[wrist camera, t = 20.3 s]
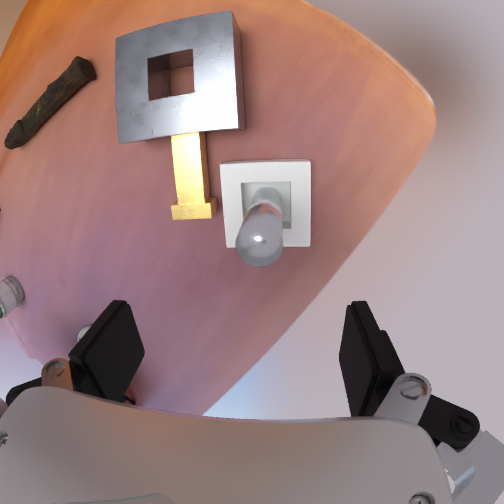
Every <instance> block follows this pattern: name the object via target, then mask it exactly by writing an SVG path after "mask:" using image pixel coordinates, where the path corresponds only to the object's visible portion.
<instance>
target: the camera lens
mask: <svg viewBox="0 0 504 504" xmlns="http://www.w3.org/2000/svg"><path fill="white" fill-rule="evenodd" d="M23 298H24V293H23V289H22V287H21V285H20V283H19V282H18V281H17V280H16V279H15V278H14V277H8V278H6V279H4V280H2V281H1V282H0V318H5V317H6V316H7V315H8V314H9V313H10V312H11V311H12V310H13V309H15V308H16V307H17V306H18V305H19V304H20V303H21V301H22V300H23Z"/></svg>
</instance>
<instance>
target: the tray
mask: <svg viewBox="0 0 504 504" xmlns="http://www.w3.org/2000/svg"><path fill="white" fill-rule="evenodd" d="M220 176H221V189H222V201H223V213H224V224H225V236H226V246H227V248H230V247H236V246H235V242H236V237H237V235H238V232H239V230H240V227H241V225H242V222H243V220H244V217H245V215H246V212H247V210H248V208H249V205H250V203H251V200H252V198H253V195H254V193H255V192H256V191H257V190H258V189H259V188H262V187H272V188H274V189H276V190H277V191H278V192H279V194H280V196H281V200H282V226H283V247H310V229H311V162H310V161H309V160H308V159H272V160H245V161H227V162H224V163H222V164H220Z"/></svg>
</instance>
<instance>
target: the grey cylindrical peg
mask: <svg viewBox="0 0 504 504" xmlns="http://www.w3.org/2000/svg"><path fill="white" fill-rule="evenodd" d="M235 246H236V251H237V253H238V255H239V257H240V258H241V259H242V260H243V261H244V262H246V263H247V264H249V265H252V266H256V267H264V266H268V265H270V264H272V263H274V262H275V261H276V260H277V259H278V258H279V257H280V255H281V253H282V250H283V226H282V200H281V196H280V194H279V192H278V191H277V190H276V189H274V188H272V187H262V188H259V189H258V190H257V191H256V192H255V193H254V195H253V198H252V200H251V203H250V205H249V208H248V210H247V212H246V215H245V217H244V220H243V222H242V225H241V227H240V230H239V232H238V235H237V237H236V242H235Z"/></svg>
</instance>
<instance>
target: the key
mask: <svg viewBox="0 0 504 504" xmlns="http://www.w3.org/2000/svg"><path fill="white" fill-rule="evenodd" d="M171 139H172V150H173V161H174V171H175V181H176V190H177V198H178V201H177V202H175V203H174V204H173V205H171V209H172V216H173V220H178V219H200V218H212V217H213V216H214V214H215V213H216V212H217V211H218V210H217V199H216V197H210V188H209V176H208V164H207V152H206V138H205V132H197V133H188V134H181V135H173V136H171Z"/></svg>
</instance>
